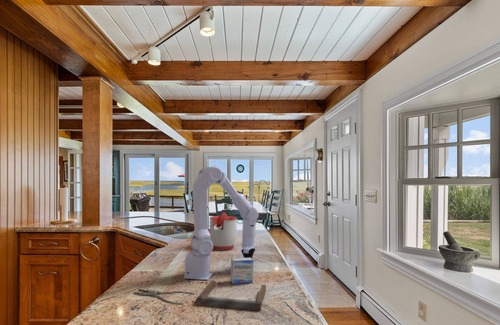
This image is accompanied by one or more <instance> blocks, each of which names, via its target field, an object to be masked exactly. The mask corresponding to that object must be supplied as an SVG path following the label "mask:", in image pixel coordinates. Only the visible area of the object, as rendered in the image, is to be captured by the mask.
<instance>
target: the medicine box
mask: <svg viewBox="0 0 500 325" xmlns="http://www.w3.org/2000/svg"><path fill="white" fill-rule="evenodd" d="M230 282H231V283H232V284H233V285H241V284H243V285H244V284H253V282H254V259H253V257H252V258H244V257H236V258H235V257H233V258H232V257H231V258H230Z"/></svg>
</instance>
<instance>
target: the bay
mask: <svg viewBox="0 0 500 325" xmlns="http://www.w3.org/2000/svg"><path fill="white" fill-rule="evenodd" d="M215 287H216V280H210V282H209V283H208V284H207V285H206V286H205V288H204V289H203V290H202V291H201V292H200V293H199V295H198V296H197V297H196V305H197V306H207V307H208V306H209V307H220V308H227V309H239V310H240V309H241V310H249V311H262V307H263V303H264V300H265V295H266V292H267V285H266V284H261V286H260V289H259V293H258V296H257V299H256V301H255V300H243V299H233V298H226V297H225V298H224V297H215V296H213V297H212V296H210V294H211V293H212V291H213V290H214V289H215Z"/></svg>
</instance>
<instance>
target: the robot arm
mask: <svg viewBox="0 0 500 325" xmlns="http://www.w3.org/2000/svg"><path fill="white" fill-rule="evenodd" d="M214 184H215V185H219V186H221V187H222V189H223V190H224V191H225V192H226V194H228V196H229V197H230V198H231V203H232V204H233V205H234V207H235V208H236V209H237V211H238V212H239V214H240V217H241V218H242V234H241V235H242V237H241V238H242V239H241V240H242V241H241V248H242V249H241V254H242V256H243V258H252V259H253V257H254V253H255V252H256V248H258V247H259V245H258V244H256V230H257V229H256V228H257V220H258V218H259V217H260V216H259V212H258V210H257V209H256V208H255V207H253V204H252V203H250V202H249V201H248V200H247V196H246V195H245V194H242V193H238V191H237V190H236V189H235V186H233V184H232V183H231V181H230V180H229V178H228V177H227V175H226V173H225V172H224V171H222V169H221V168H220V167H219V166H216V165H213V166H204V167H202V168H201V169H200V170H199V171H198V172H197V176H196V179H195V180H194V182H193V184H192V200H193V223H194V225H193V226H194V230H193V232H192V237H191V241H190V247H191V248H192V252H188V253H187V254H186V255H185V256H186V257H185V260H184V261H185V262H184V277H183V279H189V280H198V281H199V280H201V281H208V280H209V279H210V278H211V277H212V275H213V272H211V253H212V251H213V250H214V249H213V243H212V241H211V238H210V230H209V225H208V205H207V204H208V202H207V190H208V189H209V188H210V187H211V186H212V185H214Z"/></svg>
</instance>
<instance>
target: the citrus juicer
mask: <svg viewBox="0 0 500 325" xmlns="http://www.w3.org/2000/svg"><path fill="white" fill-rule="evenodd" d="M237 222H238V217H236V216H231V215H229V216H228V214H227V213H226V212H222V213H221V214H220V215H216V216H214V215H213V216H210V217H209V233H210V238H211V241H212V243H213V249H212V250H218V251H228V250H232V249H234V246H235V243H236V239H237V230H238V229H237V228H238V223H237Z"/></svg>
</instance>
